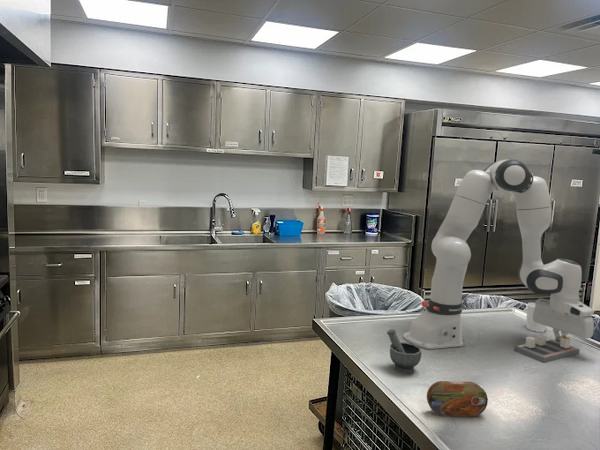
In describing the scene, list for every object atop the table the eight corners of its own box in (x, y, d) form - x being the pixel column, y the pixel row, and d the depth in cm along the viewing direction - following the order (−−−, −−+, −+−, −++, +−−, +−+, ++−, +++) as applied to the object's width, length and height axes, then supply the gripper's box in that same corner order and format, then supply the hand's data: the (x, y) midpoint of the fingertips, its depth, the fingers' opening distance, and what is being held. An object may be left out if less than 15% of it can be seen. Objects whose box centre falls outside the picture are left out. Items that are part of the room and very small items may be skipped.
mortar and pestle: (423, 368, 142) (427, 331, 140) (415, 379, 134) (418, 340, 132) (389, 359, 148) (392, 323, 146) (379, 369, 139) (382, 332, 138)
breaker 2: (541, 345, 160) (542, 337, 160) (535, 343, 162) (536, 335, 162) (545, 344, 161) (546, 336, 161) (540, 342, 163) (541, 334, 163)
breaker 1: (530, 348, 157) (531, 339, 157) (525, 346, 159) (526, 337, 159) (534, 347, 159) (535, 338, 158) (529, 345, 160) (530, 336, 160)
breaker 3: (565, 348, 159) (566, 339, 158) (560, 346, 160) (561, 337, 160) (569, 347, 160) (570, 338, 159) (564, 345, 162) (565, 336, 161)
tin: (427, 415, 114) (430, 384, 113) (424, 409, 117) (426, 378, 116) (486, 418, 114) (489, 386, 113) (481, 411, 117) (484, 380, 116)
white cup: (541, 326, 187) (544, 303, 186) (550, 333, 179) (552, 309, 178) (521, 325, 188) (524, 302, 187) (529, 331, 180) (532, 307, 179)
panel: (544, 362, 150) (544, 358, 150) (514, 350, 160) (515, 346, 160) (578, 353, 160) (579, 348, 160) (549, 342, 169) (549, 338, 169)
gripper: (531, 297, 168) (527, 333, 170) (588, 313, 150) (583, 353, 152) (541, 295, 171) (537, 330, 173) (598, 311, 153) (593, 350, 155)
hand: (559, 341), depth 162 cm, fingers closed
